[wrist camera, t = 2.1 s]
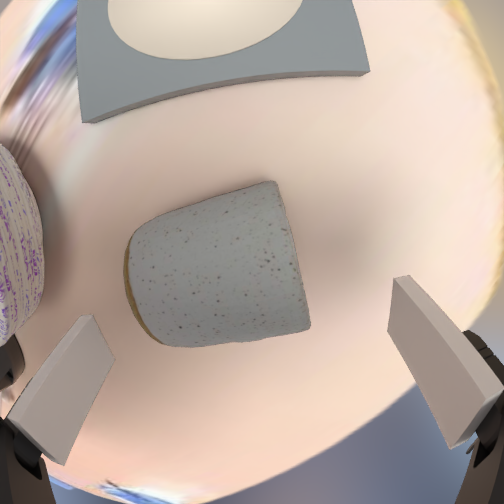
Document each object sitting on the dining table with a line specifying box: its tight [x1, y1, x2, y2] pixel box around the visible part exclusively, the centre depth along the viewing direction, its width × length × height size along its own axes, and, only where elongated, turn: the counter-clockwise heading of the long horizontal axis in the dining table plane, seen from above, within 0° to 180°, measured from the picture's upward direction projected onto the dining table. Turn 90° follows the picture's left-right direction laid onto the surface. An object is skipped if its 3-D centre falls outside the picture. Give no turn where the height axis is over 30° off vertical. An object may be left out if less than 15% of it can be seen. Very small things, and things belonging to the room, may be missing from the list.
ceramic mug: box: [123, 181, 311, 347], centre depth 15 cm, size 11×8×8 cm
